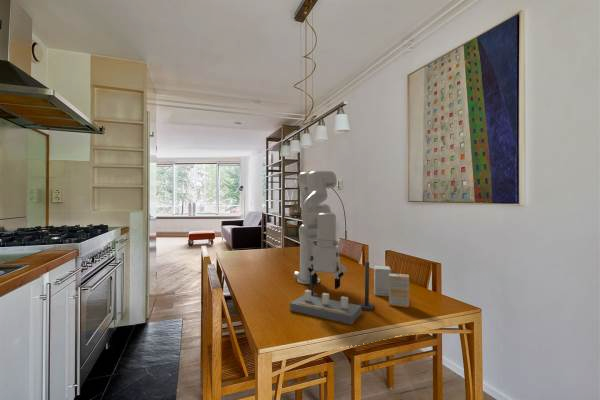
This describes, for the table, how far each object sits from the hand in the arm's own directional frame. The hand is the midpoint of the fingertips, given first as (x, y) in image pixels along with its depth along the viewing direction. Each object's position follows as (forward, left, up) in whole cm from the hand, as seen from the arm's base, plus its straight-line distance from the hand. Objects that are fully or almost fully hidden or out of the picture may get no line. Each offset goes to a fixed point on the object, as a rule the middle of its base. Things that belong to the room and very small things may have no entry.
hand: (325, 286), depth 118 cm
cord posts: (0, +13, -10) cm, 17 cm away
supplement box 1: (+14, +35, -11) cm, 39 cm away
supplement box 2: (+24, +23, -11) cm, 35 cm away
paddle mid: (0, 0, -7) cm, 7 cm away
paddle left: (-8, 0, -7) cm, 11 cm away
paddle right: (+8, 0, -7) cm, 11 cm away
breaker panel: (0, 0, -10) cm, 10 cm away
